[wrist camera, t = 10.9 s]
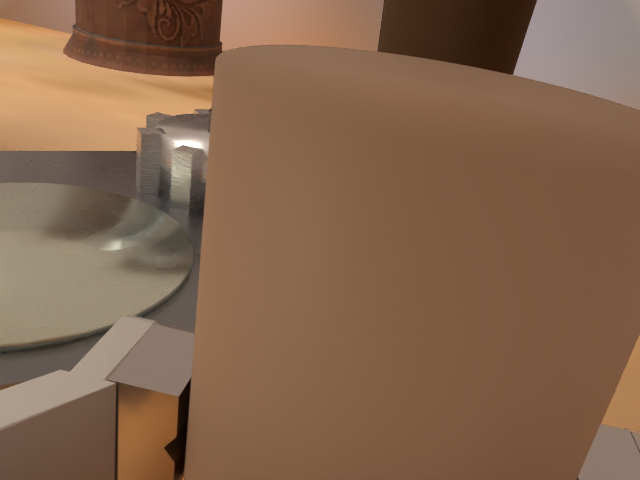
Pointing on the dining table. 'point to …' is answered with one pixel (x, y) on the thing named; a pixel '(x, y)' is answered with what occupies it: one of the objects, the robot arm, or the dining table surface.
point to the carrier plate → (99, 242)
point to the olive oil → (457, 31)
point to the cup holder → (148, 36)
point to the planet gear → (408, 270)
